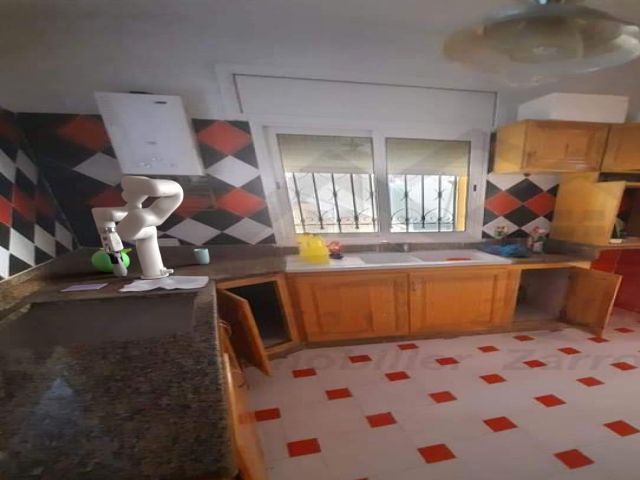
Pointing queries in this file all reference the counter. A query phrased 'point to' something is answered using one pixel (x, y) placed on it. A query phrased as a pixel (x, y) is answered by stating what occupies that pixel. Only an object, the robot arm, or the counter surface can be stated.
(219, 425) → the counter surface
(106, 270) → the green round piece
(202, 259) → the cup
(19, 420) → the counter surface
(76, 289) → the dish towel
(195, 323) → the counter surface
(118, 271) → the salt shaker
